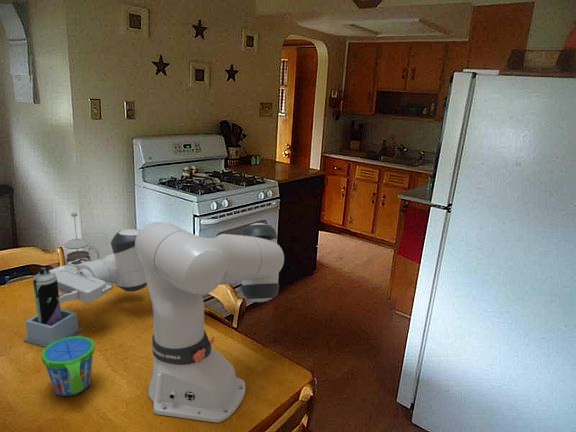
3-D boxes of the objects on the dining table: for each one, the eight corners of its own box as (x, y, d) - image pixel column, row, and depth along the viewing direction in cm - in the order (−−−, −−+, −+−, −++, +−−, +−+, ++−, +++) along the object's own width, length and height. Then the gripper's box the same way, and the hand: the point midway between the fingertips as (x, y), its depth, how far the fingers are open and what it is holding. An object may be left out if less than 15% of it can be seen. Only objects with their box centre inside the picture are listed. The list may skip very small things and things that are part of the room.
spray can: (53, 342, 112) (44, 273, 106) (35, 338, 113) (26, 270, 107) (67, 331, 117) (60, 265, 111) (50, 328, 118) (42, 262, 112)
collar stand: (82, 330, 119) (80, 312, 117) (53, 350, 110) (51, 330, 108) (54, 323, 122) (52, 305, 120) (23, 341, 112) (21, 322, 111)
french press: (67, 275, 152) (60, 209, 145) (102, 272, 156) (97, 208, 148) (62, 287, 143) (54, 217, 136) (99, 284, 147) (93, 216, 140)
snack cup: (46, 372, 101) (41, 336, 98) (94, 361, 106) (90, 326, 103) (46, 416, 88) (41, 375, 85) (101, 401, 93) (97, 362, 90)
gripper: (117, 296, 120) (73, 317, 108) (70, 278, 129) (25, 296, 117) (116, 275, 118) (71, 294, 106) (68, 259, 127) (22, 275, 115)
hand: (46, 295), depth 112 cm, fingers open, 8 cm apart
